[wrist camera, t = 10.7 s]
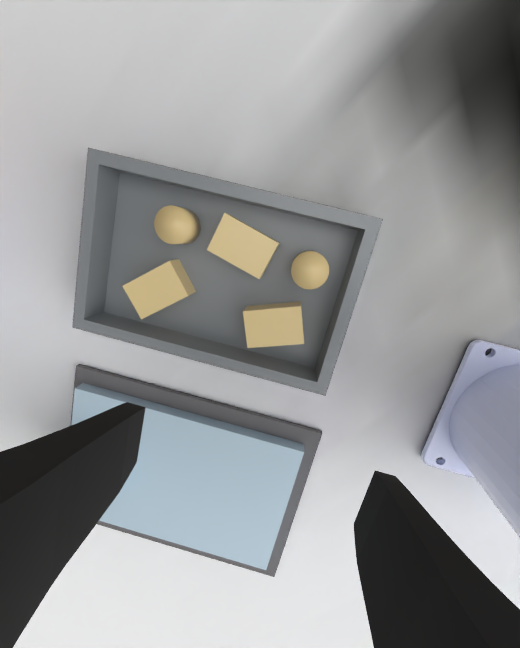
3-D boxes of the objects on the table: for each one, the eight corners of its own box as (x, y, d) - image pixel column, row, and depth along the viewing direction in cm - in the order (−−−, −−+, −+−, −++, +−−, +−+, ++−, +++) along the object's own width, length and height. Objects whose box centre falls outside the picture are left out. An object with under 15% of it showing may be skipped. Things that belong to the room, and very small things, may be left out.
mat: (321, 430, 20) (321, 433, 20) (274, 572, 24) (274, 576, 23) (79, 364, 21) (76, 365, 21) (65, 510, 24) (62, 513, 24)
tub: (370, 222, 17) (382, 218, 15) (321, 376, 19) (325, 395, 17) (116, 160, 18) (88, 147, 15) (99, 316, 20) (72, 327, 18)
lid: (304, 444, 20) (305, 503, 16) (267, 559, 23) (259, 639, 18) (82, 382, 21) (22, 422, 16) (70, 501, 24) (15, 564, 19)
